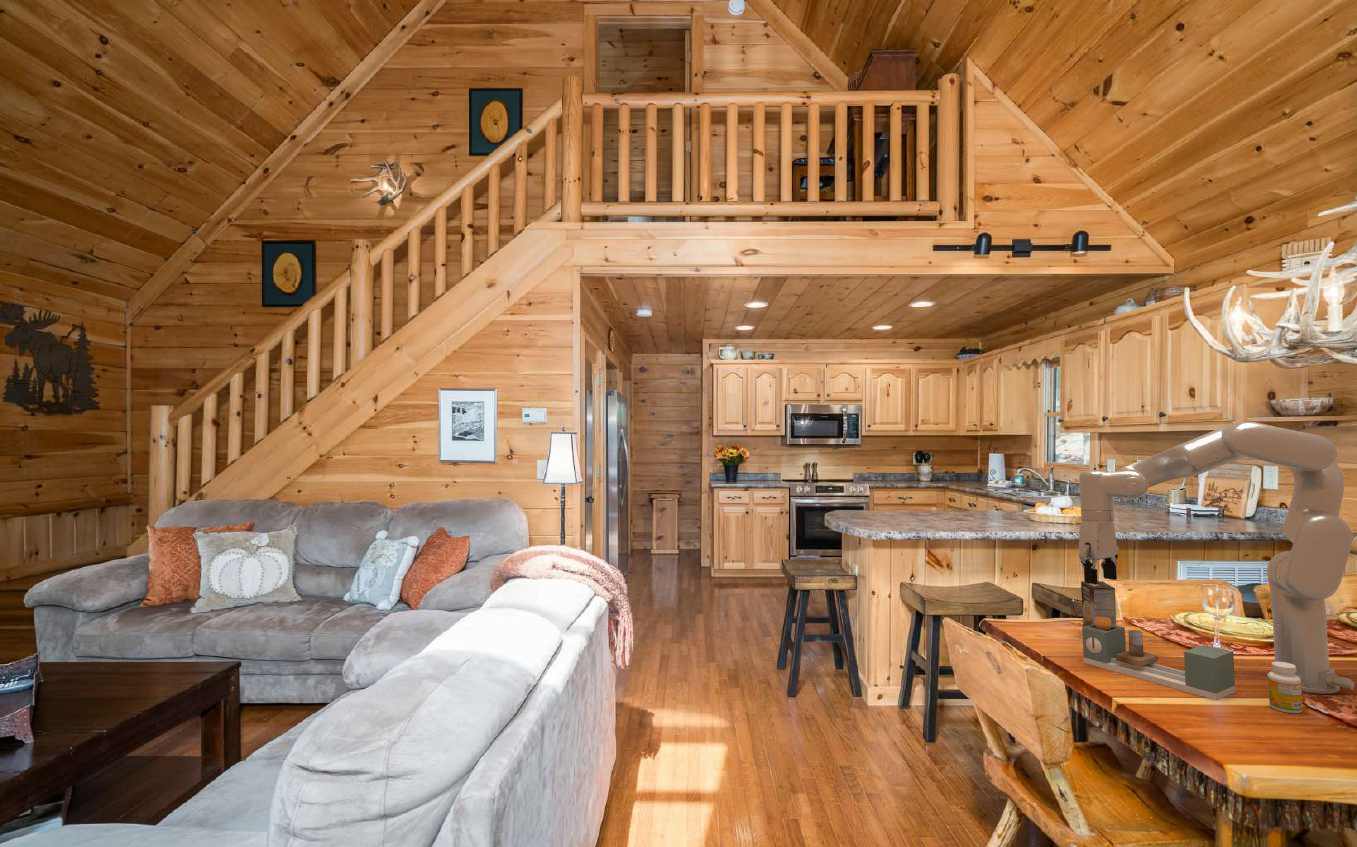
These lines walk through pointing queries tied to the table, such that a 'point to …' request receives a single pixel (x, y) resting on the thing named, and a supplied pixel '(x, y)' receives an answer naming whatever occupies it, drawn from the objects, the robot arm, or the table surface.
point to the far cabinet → (1103, 643)
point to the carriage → (1136, 651)
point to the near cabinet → (1209, 668)
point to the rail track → (1158, 676)
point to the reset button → (1103, 623)
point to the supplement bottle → (1285, 688)
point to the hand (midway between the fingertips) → (1100, 580)
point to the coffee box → (1097, 602)
